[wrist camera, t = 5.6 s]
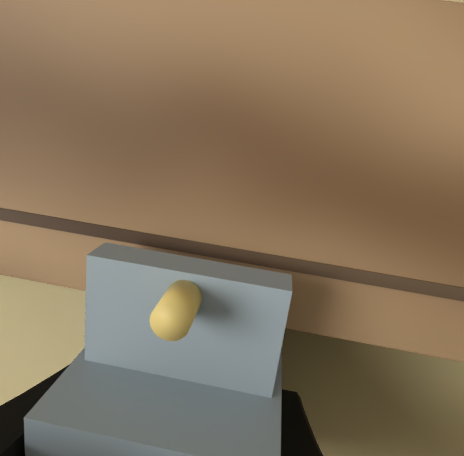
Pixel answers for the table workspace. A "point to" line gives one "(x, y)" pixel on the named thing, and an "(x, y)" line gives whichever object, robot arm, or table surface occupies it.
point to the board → (246, 150)
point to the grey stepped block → (169, 361)
